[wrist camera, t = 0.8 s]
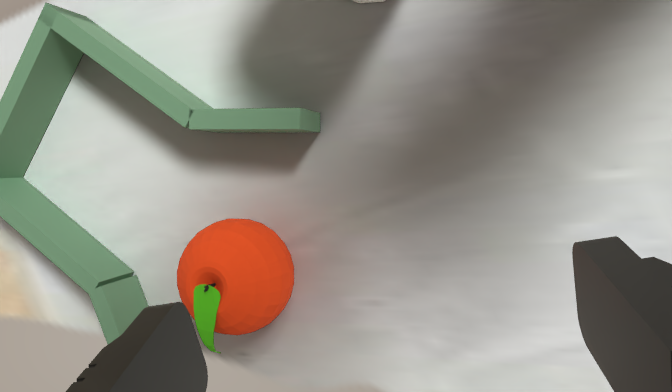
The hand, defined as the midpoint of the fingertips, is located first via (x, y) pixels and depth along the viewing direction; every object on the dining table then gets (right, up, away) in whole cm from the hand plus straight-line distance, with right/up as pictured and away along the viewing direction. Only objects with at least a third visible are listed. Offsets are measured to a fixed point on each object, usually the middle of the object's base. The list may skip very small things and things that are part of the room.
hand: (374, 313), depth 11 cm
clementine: (-6, -3, +25) cm, 25 cm away
